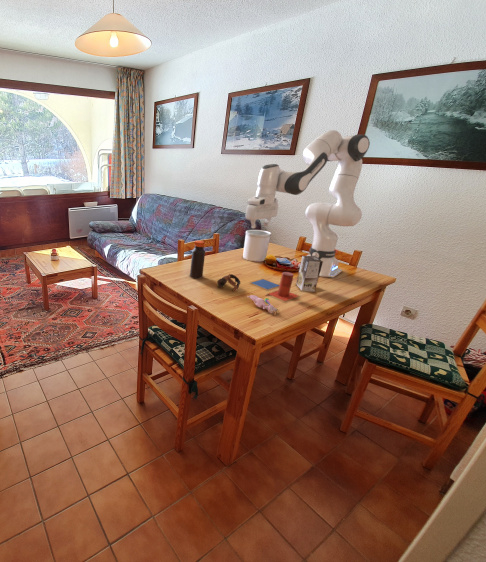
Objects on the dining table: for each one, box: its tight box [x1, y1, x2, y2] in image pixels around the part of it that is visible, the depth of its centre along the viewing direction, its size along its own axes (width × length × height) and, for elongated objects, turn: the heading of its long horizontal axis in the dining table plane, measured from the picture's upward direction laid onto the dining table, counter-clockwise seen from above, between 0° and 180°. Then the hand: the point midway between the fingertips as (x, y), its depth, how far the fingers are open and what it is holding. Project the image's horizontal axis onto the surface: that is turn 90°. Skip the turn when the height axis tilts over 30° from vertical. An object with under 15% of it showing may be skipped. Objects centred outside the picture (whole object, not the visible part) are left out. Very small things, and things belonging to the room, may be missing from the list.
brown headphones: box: [217, 273, 241, 292], centre depth 156 cm, size 12×10×8 cm
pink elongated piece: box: [247, 294, 281, 316], centre depth 136 cm, size 6×6×15 cm
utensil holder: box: [242, 229, 272, 262], centre depth 198 cm, size 15×15×18 cm
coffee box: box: [295, 255, 323, 292], centre depth 154 cm, size 9×6×16 cm
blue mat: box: [251, 279, 280, 290], centre depth 161 cm, size 10×10×1 cm
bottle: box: [189, 240, 206, 279], centre depth 169 cm, size 7×7×20 cm
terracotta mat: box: [268, 290, 299, 302], centre depth 149 cm, size 11×9×1 cm
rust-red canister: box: [277, 271, 294, 297], centre depth 147 cm, size 5×5×11 cm
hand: (259, 227), depth 158 cm, fingers open, 8 cm apart
